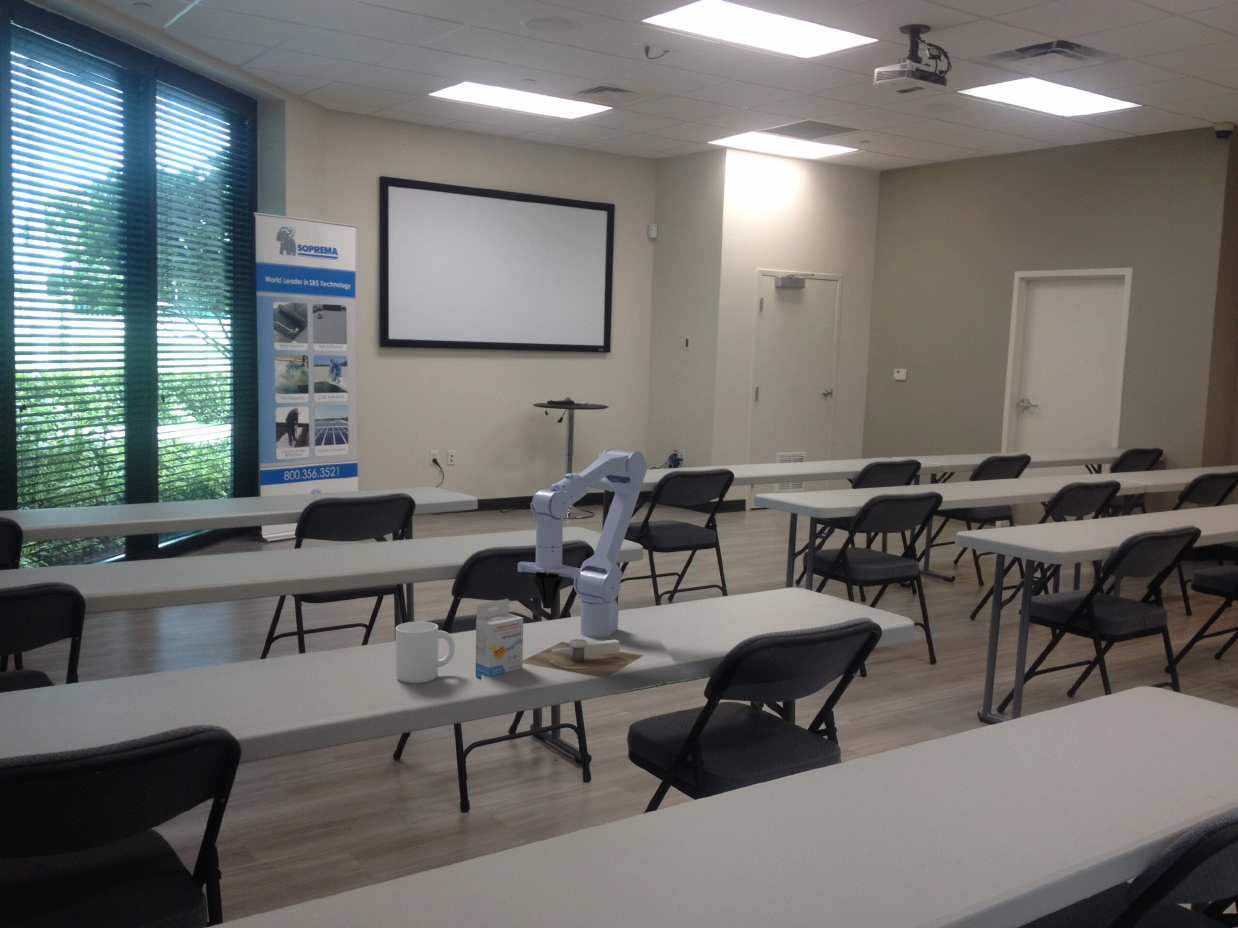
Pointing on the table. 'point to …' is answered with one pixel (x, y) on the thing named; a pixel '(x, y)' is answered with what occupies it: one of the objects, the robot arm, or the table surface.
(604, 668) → the wood grain tray mat
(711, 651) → the table surface
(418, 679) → the mug
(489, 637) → the ink box
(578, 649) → the lever
